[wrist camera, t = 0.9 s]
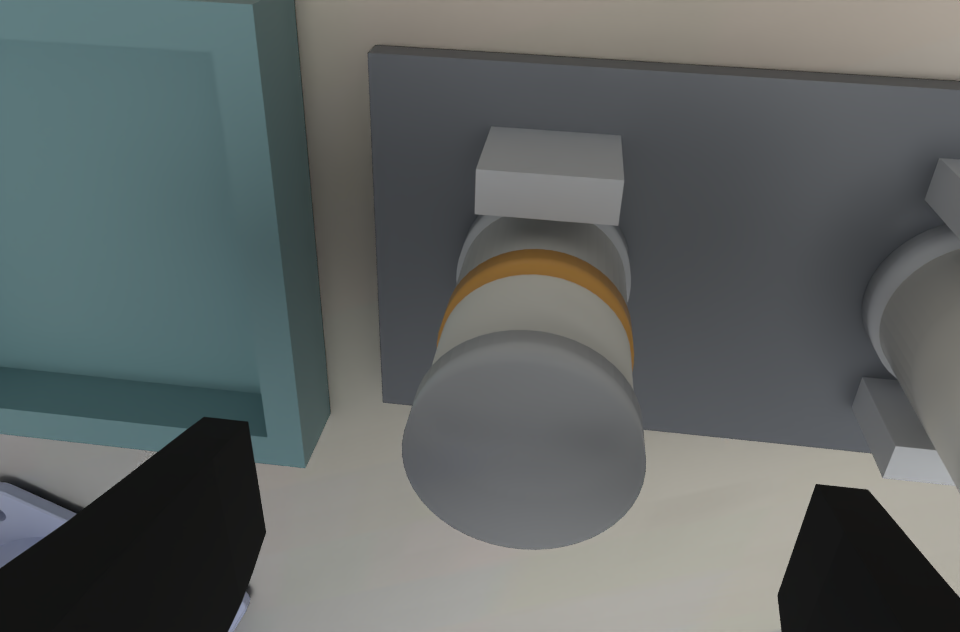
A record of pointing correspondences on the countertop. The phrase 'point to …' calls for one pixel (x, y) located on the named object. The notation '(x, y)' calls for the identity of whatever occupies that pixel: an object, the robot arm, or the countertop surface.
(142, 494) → the robot arm
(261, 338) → the tray
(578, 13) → the countertop surface
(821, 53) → the countertop surface
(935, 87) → the fuse board
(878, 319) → the cylinder
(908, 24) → the countertop surface
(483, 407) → the marked fuse
